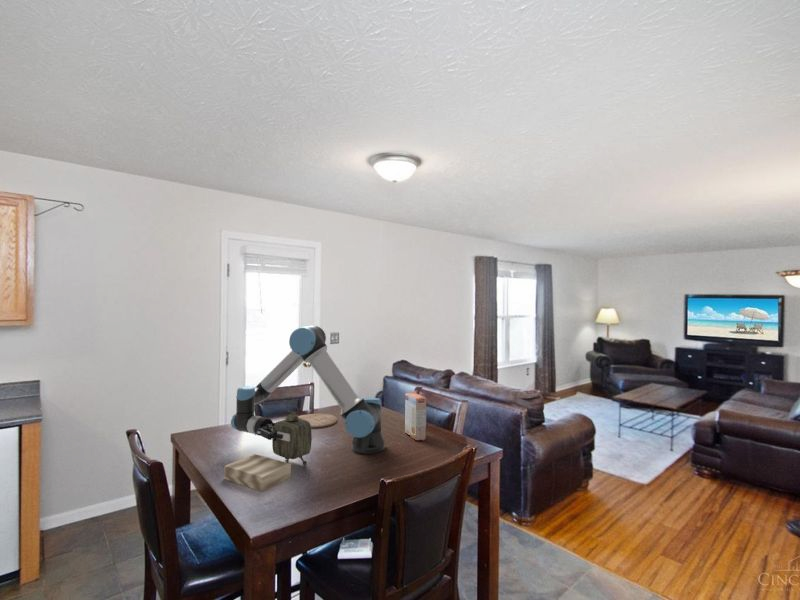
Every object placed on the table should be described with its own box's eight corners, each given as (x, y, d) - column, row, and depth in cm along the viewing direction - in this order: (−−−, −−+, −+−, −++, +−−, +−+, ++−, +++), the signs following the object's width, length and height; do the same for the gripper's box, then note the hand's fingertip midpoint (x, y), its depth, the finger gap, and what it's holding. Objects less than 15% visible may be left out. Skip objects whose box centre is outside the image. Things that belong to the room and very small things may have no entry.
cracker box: (426, 440, 195) (427, 397, 196) (415, 441, 193) (415, 398, 193) (415, 432, 208) (415, 392, 209) (404, 433, 206) (404, 392, 206)
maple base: (290, 477, 151) (291, 463, 151) (261, 491, 139) (262, 477, 139) (254, 466, 161) (254, 454, 161) (224, 479, 149) (224, 465, 149)
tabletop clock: (311, 464, 163) (312, 403, 164) (294, 472, 156) (295, 407, 156) (287, 457, 171) (288, 398, 172) (270, 463, 164) (271, 402, 165)
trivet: (283, 422, 225) (283, 419, 225) (320, 414, 243) (320, 411, 243) (306, 432, 207) (306, 428, 207) (345, 423, 225) (345, 419, 225)
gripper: (279, 428, 182) (317, 436, 171) (238, 442, 163) (278, 451, 152) (279, 411, 182) (317, 418, 172) (239, 423, 163) (278, 432, 152)
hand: (299, 434), depth 162 cm, fingers closed on tabletop clock, 10 cm apart
